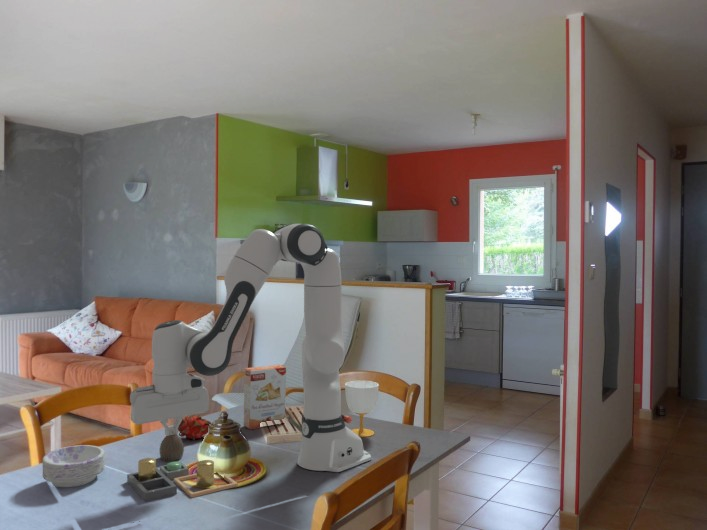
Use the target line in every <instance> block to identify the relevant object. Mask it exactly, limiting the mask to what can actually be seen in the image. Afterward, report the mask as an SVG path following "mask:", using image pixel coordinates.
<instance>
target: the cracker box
mask: <svg viewBox="0 0 707 530" xmlns="http://www.w3.org/2000/svg"><path fill="white" fill-rule="evenodd" d="M243 376H244V378H243V379H244V380H243V381H244V383H243V386H244V387H243V426H244V427H245V428H247V429H249V430H254V429H259V428H260V423H261V422H266V421H274V420H281V419H284V418H285V419H286V388H287V387H286V384H287V380H286V379H287V367H285V366H284V365H281V364H274V365H264V366H263V365H262V366H253V367H244V375H243ZM260 429H261V428H260Z"/></svg>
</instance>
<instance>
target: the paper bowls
mask: <svg viewBox="0 0 707 530" xmlns="http://www.w3.org/2000/svg"><path fill="white" fill-rule="evenodd" d="M105 454H106V451H105V450H104V449H103V448H102V447H100V446H97V445H91V444H79V445H78V444H77V445H76V444H75V445H71V446H65V447H64V446H63V447H60V448H56V449H55V450H51V451H50V452H48V453H46V454H45V455H44V456H43V457H42V478H43V480H44V481H46V482H49V483H51V484H52V485H53V487H54V488H57V487H58V488H73V487H79V486H84V485H86V484H89V483H91V482H93V481H94V480H95V479H96V478H97V476H98V475H100V474H102V473H103V472H104V471H105V467H106V460H105V458H106V456H105Z"/></svg>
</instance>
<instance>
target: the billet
mask: <svg viewBox="0 0 707 530" xmlns="http://www.w3.org/2000/svg"><path fill="white" fill-rule="evenodd" d="M214 469H215V462H214V461H213V460H210V459H204V460H200V461H199V460H198V462H197V463H196V473H197V478H196V486H197V487H199V488H210V487H212V486H214V484H215V474H214Z"/></svg>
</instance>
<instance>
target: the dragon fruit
mask: <svg viewBox="0 0 707 530" xmlns="http://www.w3.org/2000/svg"><path fill="white" fill-rule="evenodd" d="M211 423H212V421H210V420H207V419H205V418H202V416H201V414H200V415H199V414H198V415H197V416H196V414H193V415H190V416H184V418H182V421H181V423H180V425H179V427H178V436H179V437H180V438H182V437H185V439H186V441H187V440H189V439H191V440H193V441H195V440H196V439H202V440H203V439H204V438H203V437H204V436H206V435H207V434H208V433H209V432H208V426H209V424H211ZM211 425H212V424H211Z"/></svg>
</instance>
